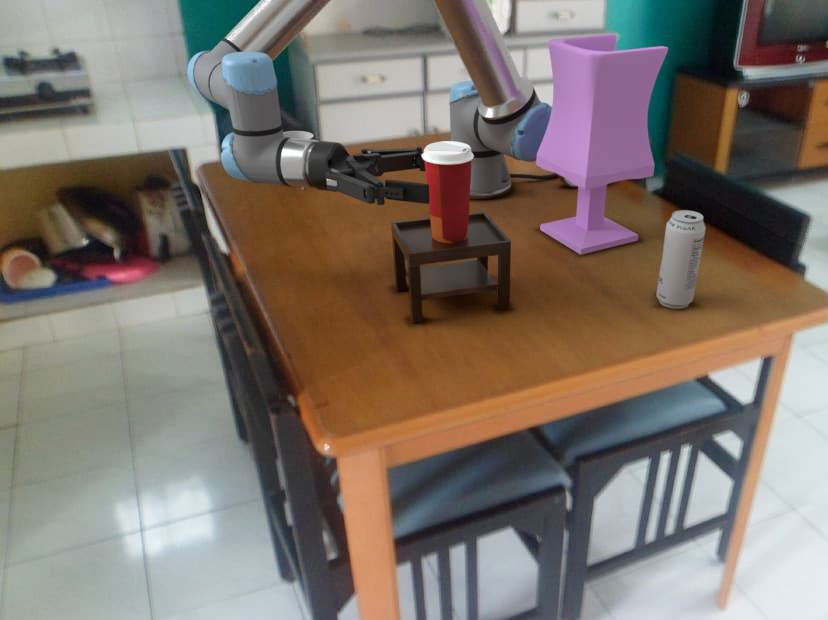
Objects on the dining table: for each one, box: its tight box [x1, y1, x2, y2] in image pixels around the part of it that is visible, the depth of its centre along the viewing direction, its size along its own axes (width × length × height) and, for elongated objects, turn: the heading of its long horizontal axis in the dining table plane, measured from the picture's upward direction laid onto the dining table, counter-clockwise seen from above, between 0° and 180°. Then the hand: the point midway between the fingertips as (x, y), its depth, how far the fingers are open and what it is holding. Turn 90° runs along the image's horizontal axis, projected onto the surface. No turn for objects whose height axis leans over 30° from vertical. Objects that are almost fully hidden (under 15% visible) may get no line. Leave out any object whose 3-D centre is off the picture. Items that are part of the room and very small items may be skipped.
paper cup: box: [421, 140, 474, 243], centre depth 114 cm, size 8×8×14 cm
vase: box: [535, 33, 669, 256], centre depth 138 cm, size 16×16×35 cm
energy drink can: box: [656, 209, 707, 310], centre depth 120 cm, size 6×6×15 cm
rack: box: [390, 211, 512, 324], centre depth 121 cm, size 16×13×12 cm
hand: (444, 179), depth 113 cm, fingers open, 13 cm apart
